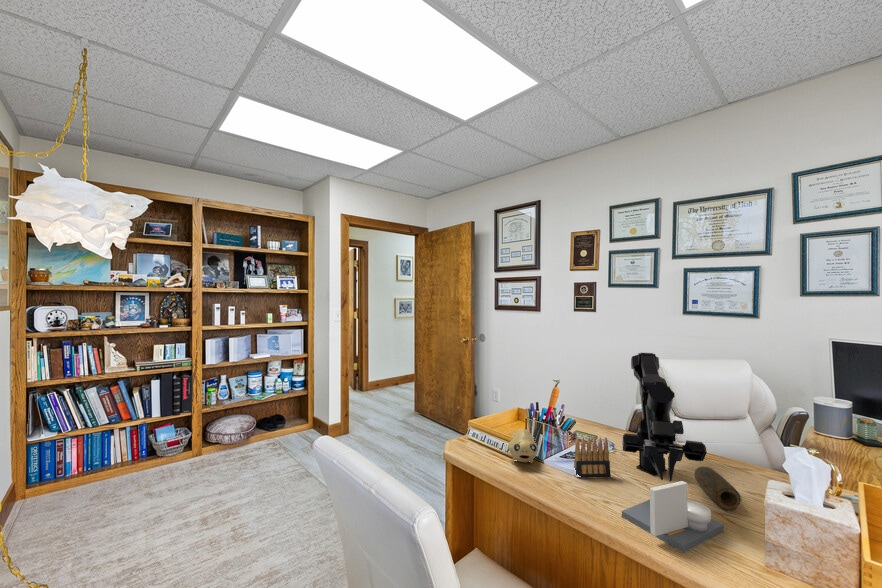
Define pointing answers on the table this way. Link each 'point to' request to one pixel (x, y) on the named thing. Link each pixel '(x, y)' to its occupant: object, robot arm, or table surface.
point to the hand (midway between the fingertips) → (666, 480)
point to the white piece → (674, 509)
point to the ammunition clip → (592, 459)
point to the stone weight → (717, 488)
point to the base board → (678, 538)
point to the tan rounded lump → (523, 446)
